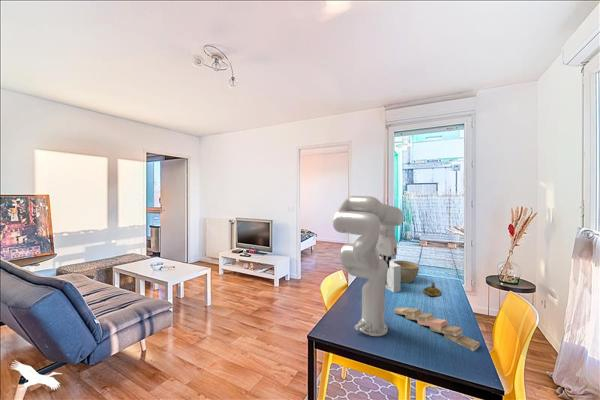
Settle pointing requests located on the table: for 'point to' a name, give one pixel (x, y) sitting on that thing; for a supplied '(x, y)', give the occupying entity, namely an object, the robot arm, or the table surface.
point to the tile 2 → (434, 323)
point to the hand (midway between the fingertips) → (385, 268)
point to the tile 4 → (464, 341)
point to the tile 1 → (421, 317)
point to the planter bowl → (408, 270)
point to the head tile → (407, 311)
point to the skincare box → (393, 277)
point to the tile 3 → (448, 330)
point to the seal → (432, 291)
